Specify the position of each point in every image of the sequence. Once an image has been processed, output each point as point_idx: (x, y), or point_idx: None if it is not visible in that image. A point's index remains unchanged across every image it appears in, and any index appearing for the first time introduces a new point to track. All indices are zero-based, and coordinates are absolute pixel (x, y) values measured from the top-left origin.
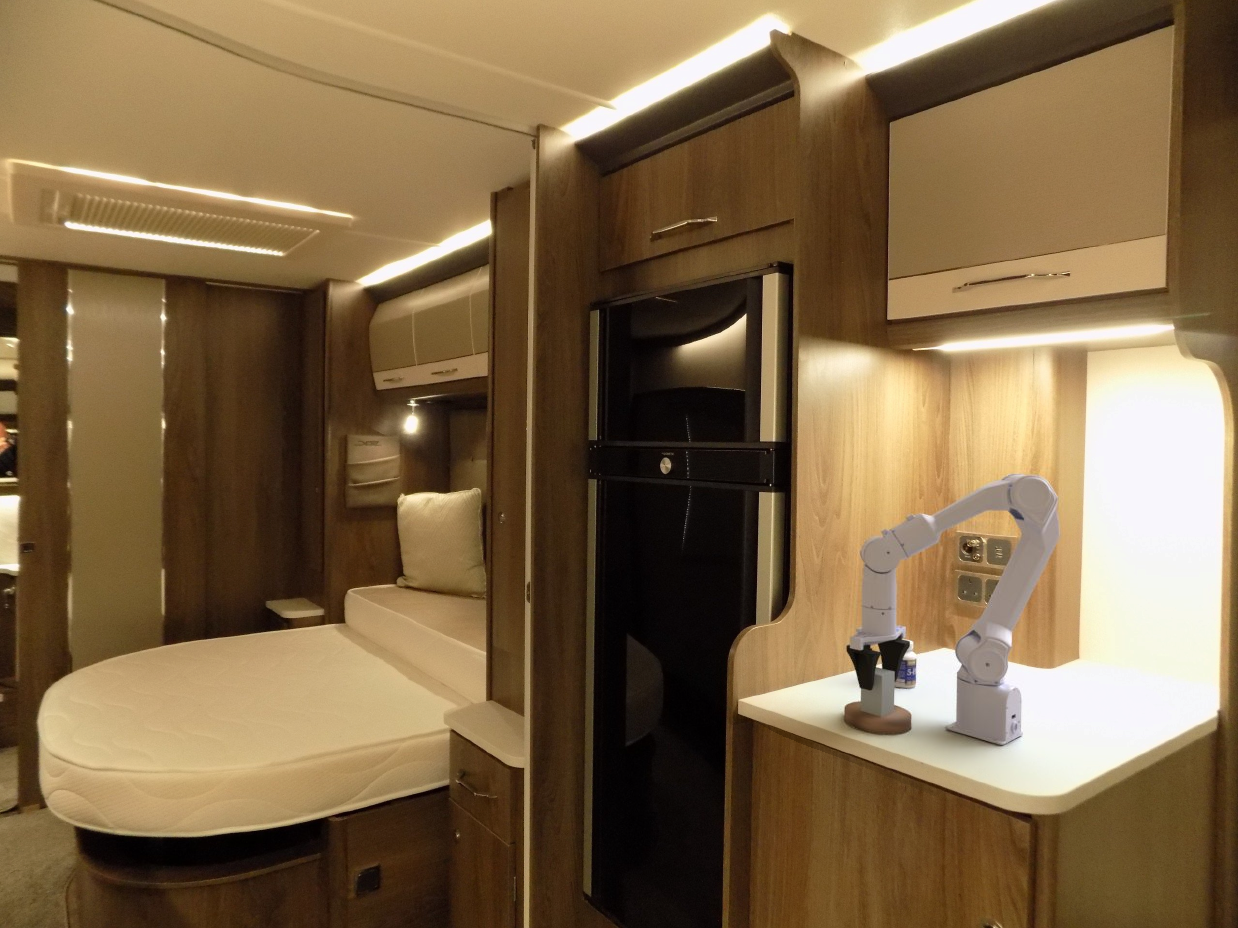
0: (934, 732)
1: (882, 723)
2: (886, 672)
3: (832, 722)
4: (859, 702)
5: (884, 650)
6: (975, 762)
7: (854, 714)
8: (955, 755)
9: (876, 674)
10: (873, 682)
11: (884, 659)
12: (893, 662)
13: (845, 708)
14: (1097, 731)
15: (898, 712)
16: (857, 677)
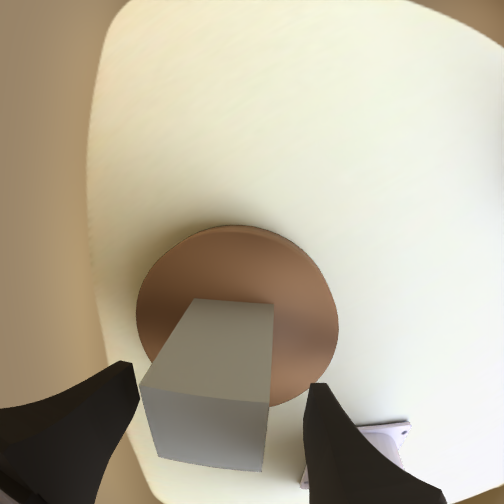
0: (284, 421)
1: None
2: (219, 459)
3: (137, 230)
4: (271, 252)
5: (330, 497)
6: (198, 476)
7: (148, 301)
8: None
9: (154, 440)
10: (127, 422)
11: (325, 453)
12: (315, 477)
13: (172, 252)
14: (440, 488)
15: (275, 377)
16: (92, 377)
